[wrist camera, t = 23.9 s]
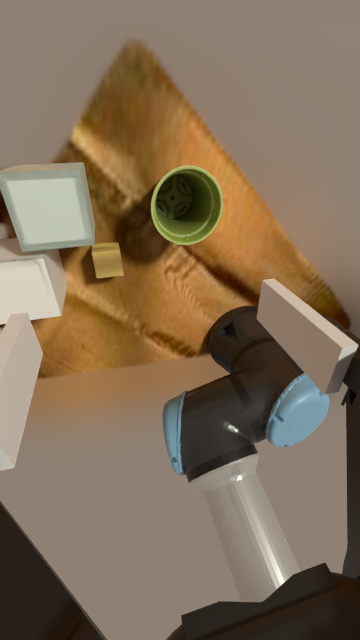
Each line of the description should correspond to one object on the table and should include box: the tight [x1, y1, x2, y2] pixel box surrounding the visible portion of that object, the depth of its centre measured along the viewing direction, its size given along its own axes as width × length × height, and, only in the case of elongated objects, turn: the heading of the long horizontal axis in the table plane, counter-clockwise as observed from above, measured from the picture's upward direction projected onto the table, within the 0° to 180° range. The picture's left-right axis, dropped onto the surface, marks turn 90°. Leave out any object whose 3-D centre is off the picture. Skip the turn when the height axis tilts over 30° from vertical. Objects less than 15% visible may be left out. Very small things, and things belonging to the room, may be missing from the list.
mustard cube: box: [92, 242, 124, 278], centre depth 42 cm, size 4×4×4 cm
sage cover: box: [0, 162, 95, 252], centre depth 34 cm, size 8×8×10 cm
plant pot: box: [151, 166, 223, 245], centre depth 38 cm, size 9×9×9 cm
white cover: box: [0, 238, 68, 324], centre depth 38 cm, size 8×8×10 cm
